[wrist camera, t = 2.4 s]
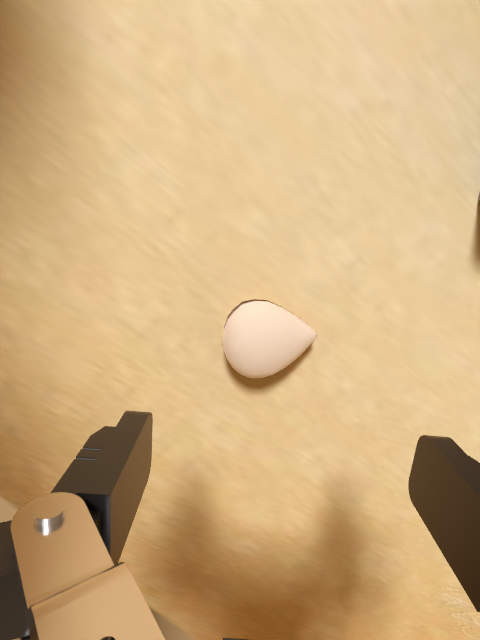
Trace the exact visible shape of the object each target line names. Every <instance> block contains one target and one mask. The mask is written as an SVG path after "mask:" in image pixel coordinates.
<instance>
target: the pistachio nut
mask: <svg viewBox="0 0 480 640" xmlns="http://www.w3.org/2000/svg"><path fill="white" fill-rule="evenodd" d="M316 336H317V335H316V333H315V331H314V330H313V329H312V328H311V327H310V326H308V325H307V324H306V323H305V322H304V321H302V320H301V319H300V318H298V317H297V316H295V315H294V314H293V313H291V312H289V311H287V310H286V309H284V308H282V307H281V306H278V305H276V304H274V303H272V302H269V301H267V300H255V299H254V300H250V301H245V302H242V303H240V304H239V305H238V306H237V307H235V308H234V309H233V311H232V312H231V313H230V314H229V316H228V318H227V321H226V323H225V326H224V333H223V347H224V351H225V355H226V358H227V360H228V361H229V363H230V365H231V366H232V367H233V368H234V369H235V370H236V371H237V372H238V373H239V374H241V375H243V376H245V377H248V378H264V377H266V376H270V375H273V374H274V373H276V372H278V371H280V370H282V369H284V368H286V367H287V366H288V365H290V364H291V363H292V362H294V361H295V360H296V359H297V358H298V357H299V356H300V355H301V354H302V353H303V352H304V351H305V350H306V349H307V348H308V347H309V346H310V345H311V343H312V342H313V341H314V340H315V338H316Z"/></svg>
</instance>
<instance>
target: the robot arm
mask: <svg viewBox="0 0 480 640" xmlns="http://www.w3.org/2000/svg"><path fill="white" fill-rule="evenodd" d="M152 420H153V419H152V413H149V412H137V411H125V413H124V414H123V416H122V418H121V419H120V421H119V423H118V424H117V426H116V427H109V426H105V427H103V428H102V429H100V430H99V431H97V432H96V433H94V434H92V435H91V436H90V438H89V439H88V440H87V442H86V443H85V445H84V446H83V449H81V450H80V452H79V453H78V455H77V456H76V459H74V460H73V462H72V463H71V465H70V466H69V468H68V469H67V470H66V472H65V473H64V475H63V476H62V478H61V479H60V480H59V482H58V483H57V485H56V486H55V488H54V489H53V490H52V492H51V493H50V494H46V495H43V496H40V497H37V498H35V499H33V500H31V501H30V502H28V503H26V504H25V505H24V506H22V507H21V508H20V509H19V510H18V511H17V512H16V514H15V515H14V517H13V519H12V520H11V521H7V522H2V523H0V640H12V639H16V638H20V640H165V638H164V636H163V634H162V632H161V630H160V628H159V626H158V624H157V622H156V620H155V619H154V616H153V614H152V612H151V611H150V609H149V607H148V605H147V603H146V601H145V599H144V597H143V595H142V593H141V591H140V589H139V587H138V585H137V583H136V581H135V579H134V577H133V575H132V573H131V571H130V569H129V568H128V566H127V565H126V564H125V563H124V562H120V563H118V561H119V558H120V556H121V553H122V550H123V547H124V545H125V542H126V539H127V536H128V534H129V531H130V528H131V525H132V523H133V520H134V517H135V514H136V512H137V509H138V506H139V503H140V501H141V498H142V495H143V492H144V489H145V487H146V484H147V481H148V478H149V473H150V467H151V454H152ZM409 494H410V498H411V501H412V503H413V505H414V507H415V508H416V510H417V512H418V513H419V515H420V517H421V518H422V520H423V522H424V523H425V525H426V527H427V528H428V530H429V532H430V533H431V535H432V537H433V538H434V540H435V542H436V543H437V545H438V547H439V548H440V550H441V552H442V553H443V555H444V557H445V558H446V560H447V562H448V563H449V565H450V567H451V568H452V570H453V572H454V573H455V575H456V577H457V578H458V580H459V582H460V583H461V585H462V587H463V588H464V590H465V592H466V593H467V595H468V597H469V598H470V600H471V602H472V603H473V605H474V607H475V608H476V610H477V612H480V463H479V462H478V461H476V460H474V459H473V458H471V457H470V456H468V455H467V454H466V453H465V452H464V451H463V450H462V449H461V448H460V447H459V446H458V445H457V444H456V443H455V442H454V441H453V440H452V439H451V438H449V437H439V436H427V435H423V436H421V437H420V438H419V440H418V443H417V447H416V451H415V456H414V460H413V464H412V469H411V473H410V477H409ZM223 640H246V639H232V638H223Z"/></svg>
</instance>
